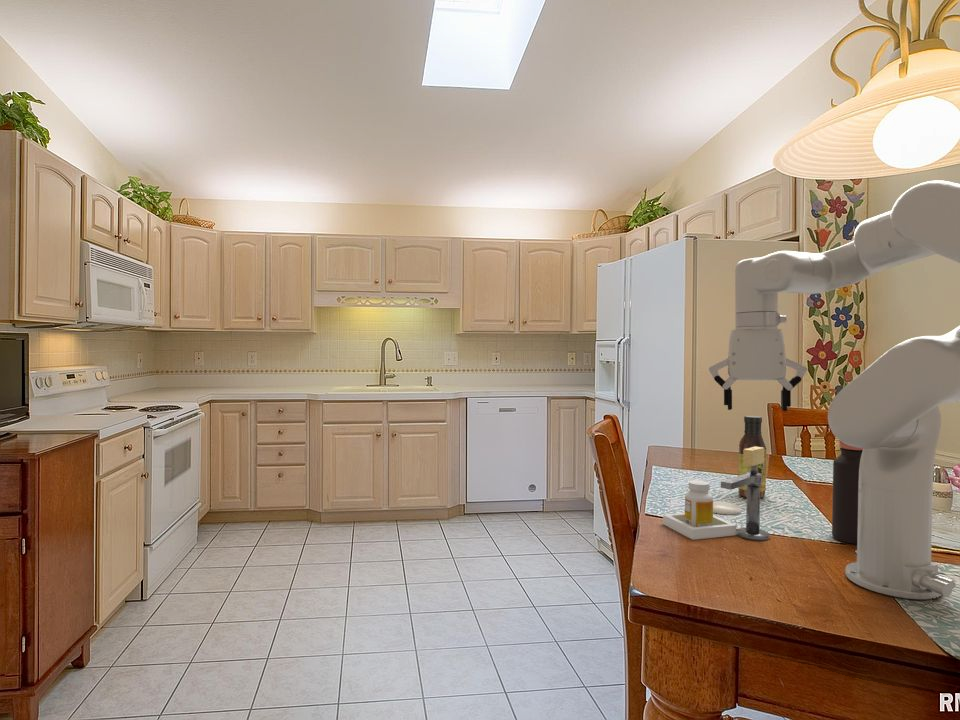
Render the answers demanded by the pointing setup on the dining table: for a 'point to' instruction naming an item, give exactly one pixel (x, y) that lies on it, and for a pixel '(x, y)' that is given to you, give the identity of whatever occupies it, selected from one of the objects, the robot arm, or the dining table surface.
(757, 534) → the post
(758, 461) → the lever handle
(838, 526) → the vinegar
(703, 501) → the supplement bottle
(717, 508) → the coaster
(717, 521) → the dock
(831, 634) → the dining table surface
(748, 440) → the sauce bottle
